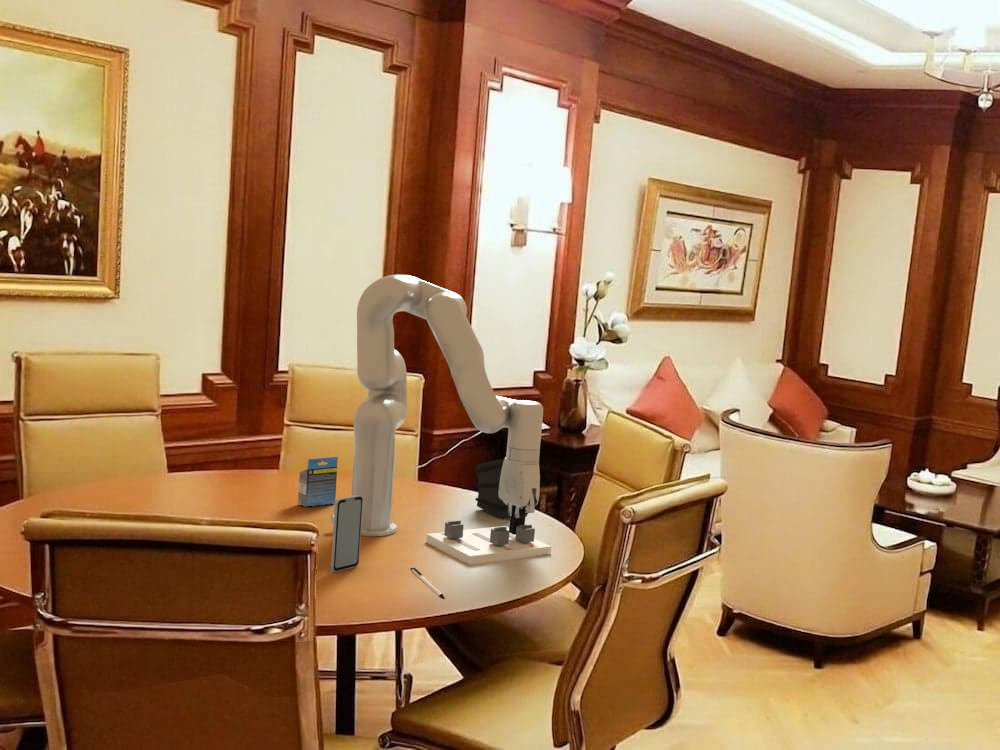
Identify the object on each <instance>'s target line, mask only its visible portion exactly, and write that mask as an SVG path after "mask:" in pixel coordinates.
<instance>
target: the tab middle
mask: <svg viewBox="0 0 1000 750" xmlns="http://www.w3.org/2000/svg"><path fill="white" fill-rule="evenodd" d="M495 527H496V528H494V529H491V534H490V542H491V543H493V544H495V545H497V546H499V545H508V544H509V532H510V531H508V530H507V527H508V526H507V527H499V526H495Z"/></svg>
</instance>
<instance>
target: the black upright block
mask: <svg viewBox="0 0 1000 750" xmlns="http://www.w3.org/2000/svg"><path fill="white" fill-rule="evenodd" d="M504 459H505V458H499V459H495V460H492V461H491V460H490V461H487V462H483V463H479V464H476V469H474V472H475V473H477V479H478V484H475V486H476V487H475V488H477V489H478V491H477V492H478V494H477V497H475V498H474V499H475V501H476V502H477V503H476V506H477V508H479V509H481V510H483V511H485V512H486V513H488V514H490V515H492V516H494V517H495V518H497V519H499V520H510V515H509V508H508V506H507V505H506V504H505V503H504V502H503V500H501V499H500V498H499V496H498V492H499V483H500V476H501V470H502V466H503V462H504Z"/></svg>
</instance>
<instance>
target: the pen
mask: <svg viewBox="0 0 1000 750" xmlns="http://www.w3.org/2000/svg"><path fill="white" fill-rule="evenodd" d="M409 569H410V571H411V572H412V573H413V574H414V575H415V576H416V577H417V578H419V579H420V581H422V582H423V583H424V584H425V585H426V586H427V587H428V588H429V589H430V590H432V592H434V593H435V594H436V595H437V596H438V597H440V598H441V599H443V600H445V599H446V598H445V596H444V594H443V593H442V592H441V591H440V590H439V589H438V588H436V587H435V586H434V585H433V584H432V583H431V582H430V581H429V580H427V578H426V577H424V576H423V573H421V572H420V570H418V569H417V568H416V567H410V568H409Z"/></svg>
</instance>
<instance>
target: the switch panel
mask: <svg viewBox="0 0 1000 750" xmlns="http://www.w3.org/2000/svg"><path fill="white" fill-rule="evenodd" d="M496 527H497V526H492V527H491V526H490V527H479V528H471V529H463V538H454V539H451V538H449V537H447V536H445V535H444V532H445V531H443V532H441V531H439V532H434V533H426V538H425V539H426V540H425V543H426V544H428V545H430V546H433V547H434V548H436V549H438V550H440V551H442V552H444V553H446V554H447V555H450V556H452V557H454V558H456V559H457V560H459V561H461V562H463V563H465V564H467V565H469V566H470V565H479V564H483V563H485V564H486V563H493V562H500V561H501V562H502V561H508V560H516V559H523V558H529V557H530V556H532V557H536V556H535V555H539V556H543V555H542V554H547V555H551V554H552V545H550V544H547V543H545V542H542V541H541V540H537V539H535V538H534V542H527V543H522V542H520V541H518V540H516V539H515V538H516V535H513V534H512V533H509V544H508V545H499V546H497V545H495V544H493V543H491V542H490V534H491V529H494V528H496ZM498 527H507V530H508V531H509V526H507V525H500V526H498ZM530 558H531V557H530Z"/></svg>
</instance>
